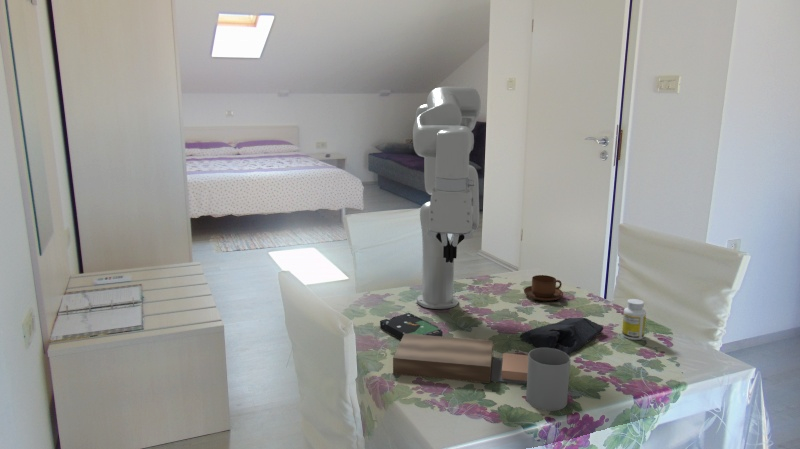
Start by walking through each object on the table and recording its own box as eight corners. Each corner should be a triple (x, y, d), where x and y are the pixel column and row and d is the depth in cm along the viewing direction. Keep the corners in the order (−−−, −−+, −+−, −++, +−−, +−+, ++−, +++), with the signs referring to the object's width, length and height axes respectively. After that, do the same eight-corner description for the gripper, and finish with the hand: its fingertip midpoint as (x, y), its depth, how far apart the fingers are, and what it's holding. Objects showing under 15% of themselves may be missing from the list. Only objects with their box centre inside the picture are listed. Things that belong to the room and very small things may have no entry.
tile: (529, 355, 138) (528, 363, 139) (503, 353, 140) (503, 360, 140) (529, 373, 130) (528, 381, 130) (501, 370, 131) (501, 378, 132)
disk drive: (379, 330, 160) (412, 348, 149) (379, 320, 160) (412, 337, 148) (409, 321, 166) (443, 338, 155) (408, 312, 166) (443, 328, 154)
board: (404, 348, 148) (404, 333, 147) (492, 355, 143) (492, 340, 143) (392, 374, 134) (392, 357, 133) (489, 383, 130) (490, 366, 129)
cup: (560, 390, 127) (563, 347, 125) (572, 410, 119) (576, 365, 117) (521, 390, 127) (523, 348, 125) (531, 411, 119) (534, 365, 117)
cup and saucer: (541, 288, 193) (542, 270, 191) (570, 299, 183) (572, 280, 181) (515, 295, 186) (516, 277, 184) (544, 306, 176) (545, 287, 175)
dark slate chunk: (613, 337, 155) (614, 320, 154) (562, 360, 142) (563, 342, 141) (564, 320, 167) (566, 304, 166) (513, 340, 154) (514, 323, 153)
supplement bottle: (633, 331, 158) (637, 296, 156) (648, 339, 153) (651, 303, 151) (617, 333, 157) (620, 299, 154) (631, 341, 152) (634, 306, 149)
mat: (492, 359, 142) (492, 358, 141) (543, 363, 139) (543, 362, 139) (490, 381, 131) (490, 379, 131) (545, 386, 129) (546, 385, 129)
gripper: (485, 182, 135) (482, 257, 140) (421, 180, 138) (420, 254, 143) (484, 188, 128) (480, 268, 133) (416, 186, 131) (415, 264, 136)
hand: (449, 260), depth 138 cm, fingers closed
